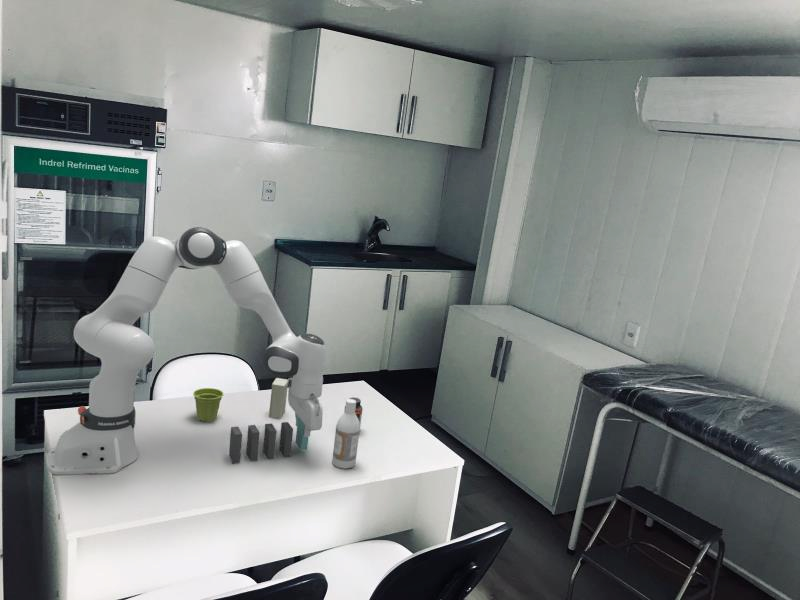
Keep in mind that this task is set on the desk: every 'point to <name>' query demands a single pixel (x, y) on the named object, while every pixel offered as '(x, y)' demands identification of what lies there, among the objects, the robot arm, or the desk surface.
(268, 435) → the domino
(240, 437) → the domino
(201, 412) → the plant pot
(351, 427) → the bath foam
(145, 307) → the robot arm
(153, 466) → the desk surface
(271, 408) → the skincare box
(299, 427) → the domino
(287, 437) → the domino
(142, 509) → the desk surface
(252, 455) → the domino
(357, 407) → the supplement bottle
